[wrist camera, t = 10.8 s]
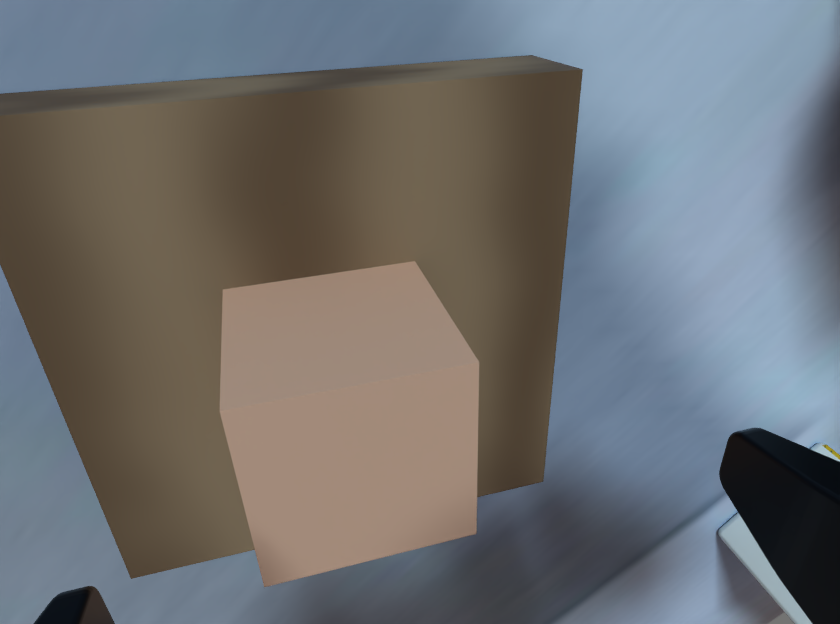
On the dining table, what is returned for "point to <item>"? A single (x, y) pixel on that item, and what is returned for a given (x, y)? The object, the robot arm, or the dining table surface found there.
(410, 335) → the terracotta cube
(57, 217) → the walnut base
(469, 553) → the dining table surface
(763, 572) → the medicine bottle
